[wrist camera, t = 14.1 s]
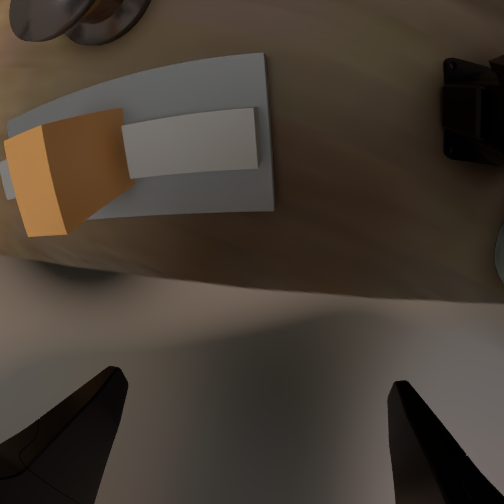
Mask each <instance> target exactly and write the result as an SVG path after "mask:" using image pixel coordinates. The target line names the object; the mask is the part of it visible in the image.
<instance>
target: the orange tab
mask: <svg viewBox="0 0 504 504" xmlns="http://www.w3.org/2000/svg"><path fill="white" fill-rule="evenodd" d="M123 125H124V120H123V112H122V108H116V109H110V110H105V111H99V112H94V113H89V114H84V115H80V116H75V117H71V118H66V119H62V120H58V121H54V122H50V123H47V124H43V125H40V126H37V127H35V128H33V129H30V130H28V131H25V132H23V133H21V134H18V135H16V136H14V137H12V138H10V139H7V140H5V141H4V147H5V152H6V157H7V162H8V167H9V171H10V175H11V180H12V184H13V188H14V192H15V195H16V199H17V203H18V206H19V209H20V213H21V216H22V219H23V223H24V226H25V229H26V232H27V235H28V237H33V236H48V235H64V234H68V233H69V232H71V231H72V230H73V229H75V228H76V227H77V226H78V225H80V224H81V223H82V222H84V221H85V220H86V219H88V218H89V217H90V216H92V215H93V214H94V213H96V212H97V211H99V210H100V209H101V208H103V207H104V206H105V205H107V204H108V203H110V202H111V201H113V200H114V199H115V198H117V197H118V196H120V195H121V194H123V193H124V192H126V191H127V190H128V189H130V188H131V187H133V186H134V185H135V184H134V179H130V175H129V170H128V164H127V158H126V152H125V146H124V140H123V133H122V126H123Z"/></svg>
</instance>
